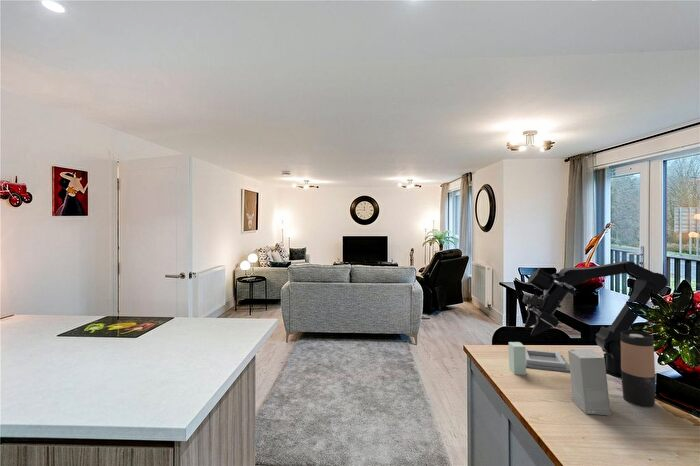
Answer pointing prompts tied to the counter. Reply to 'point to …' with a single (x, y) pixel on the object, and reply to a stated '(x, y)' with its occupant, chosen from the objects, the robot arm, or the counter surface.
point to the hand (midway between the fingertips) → (528, 331)
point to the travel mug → (638, 368)
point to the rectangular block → (517, 358)
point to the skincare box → (589, 381)
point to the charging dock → (546, 360)
